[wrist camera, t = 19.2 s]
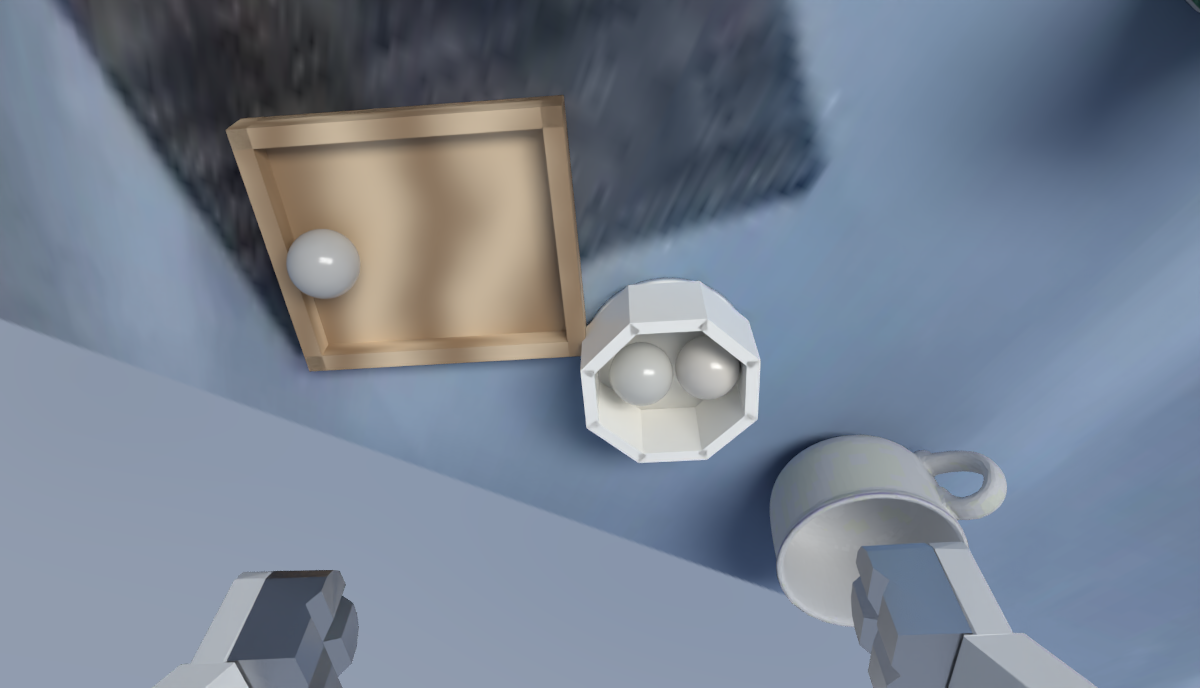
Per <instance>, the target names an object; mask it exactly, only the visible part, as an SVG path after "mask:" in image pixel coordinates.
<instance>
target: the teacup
mask: <svg viewBox="0 0 1200 688" xmlns="http://www.w3.org/2000/svg"><path fill="white" fill-rule="evenodd" d="M958 471H968V472H975V473H979V474H982V475H983V476H984V481H983V485H982V487H981V488H980V489H979V491H978V492H976V493H974V494H972V495H970V496H966V497H963V498H962V497H956V496H954V495H951V494H950V493H949V492H948V491H947V490H946V489H945V488H943V487H939V485H938V483H937V482H936V480H935V478H934V477H935V476H936V475H938V474H943V473H948V472H958ZM1006 491H1007V484H1006V480H1005V476H1004V474H1003V472H1002V471H1001V469H1000V468H999V467H998V466H997V465H996V464H995V463H994V462H993V461H992V460H991V459H989V458H988V457H986V456H984V455H982V454H980V453H976V452H971V451H946V452H938V453H930V452H929V451H924V450H919V451H916V452H914V453H913V452H911V451H909V450H908V449H906V448H905V447H903V446H901V445H899V444H897V443H895V442H893V441H890V440H887V439H884V438H881V437H875V436H869V435H845V436H839V437H834V438H830V439H827V440H824V441H821V442H818V443H816V444H814V445H812V446H810V447H808V448H806V449H805V450H803V451H801V452H800V453H799V454H798V455H796V456H795V457H794V458H793V459H792V460H791V461H790V462H789V463H788V464H787V465H786V466H785V467H784V468H783V470H782V471H781V473H780V474H779V476H778V478H777V479H776V482H775V484H774V487H773V490H772V493H771V499H770V522H771V531H772V537H773V544H774V549H775V554H776V571H777V578H778V580H779V583H780V586H781V588H782V590H783V592H784V593H785V595H786V596H787V598H788V599H789V600H790V602H791V603H792V604H794V605H795V606H796V607H798V608H799V609H800V610H802V611H803V612H805V613H806V614H808V615H809V616H812V617H815V618H817V619H819V620H821V621H823V622H827V623H831V624H835V625H840V626H849V627H854V622H853V618H852V608H851V592H852V583H853V582H854V581H855V580H856V579H857V578H858V577H860V574H859V571H858V568H857V565H856V558H857V553H858V550H859V549H860V547H861V546H874V545H892V544H910V543H926V544H927V543H940V542H963V543H964V544H965V545H966V546H968V548H969V545H968V541H967V539H966V536H965V534H964V531H963V529H962V528H961V526H960V525H959V523H958V521H957V520H971V519H979V518H982V517H984V516H987V515H989V514H991V513H993V512H994V511H995V510H996V509H997V508H998V507H999V506H1001V504H1002V502H1003V500H1004V499H1005V496H1006Z"/></svg>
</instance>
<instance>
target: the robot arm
mask: <svg viewBox="0 0 1200 688" xmlns="http://www.w3.org/2000/svg"><path fill="white" fill-rule="evenodd" d="M856 565H857V568H858V571H859V574H860V577H858V578H857V579H856V580H855V581H854V582H853V583H852V592H851V608H852V618H853V622H854V627H855V631H856V635H857V638H858V641H859V644H860V645H861V646H862V647H863V648H864V649H865V650H866V651H867V652H869V653H870V654H871V657H870V663H869V668H868V673H869V676H870V679H871V682H872V685H873V688H1098V687H1096V686H1095V685H1094V684H1092V683H1091V682H1089V681H1088V680H1087V679H1085V678H1084V677H1083V676H1081V675H1080V674H1079V673H1077V672H1076V671H1075V670H1073V669H1072V668H1071V667H1069V666H1068V665H1066V664H1065V663H1064V662H1062V661H1061V660H1060V659H1058V658H1057V657H1056V656H1054V655H1053V654H1052V653H1050V652H1049V651H1047V650H1046V649H1045V648H1043V647H1042V646H1041V645H1039V644H1038V643H1037V642H1035V641H1034V640H1033V639H1031V638H1030V637H1029V636H1027V635H1026V634H1024V633H1013V632H1012V630H1011V628H1010V626H1009V624H1008V622H1007V620H1006V618H1005V616H1004V614H1003V613H1002V611H1001V609H1000V607H999V605H998V603H997V601H996V599H995V597H994V595H993V594H992V592H991V590H990V588H989V586H988V584H987V582H986V580H985V578H984V576H983V575H982V573H981V571H980V569H979V567H978V565H977V563H976V561H975V559H974V557H973V556H972V554H971V552H970V550H969V548H968V546H966V545H965V544H964V543H963V542H940V543H927V544H926V543H910V544H892V545H874V546H861V547H860V549H859V550H858V553H857V558H856ZM345 585H346V584H345V582H344V580H343V577H342V575H341V573H340V571H336V570H319V571H318V570H315V571H269V572H243V573H242V574H241V575H239V576H238V577H237V578H236V579H235V580H234V582H233V583H232V585H231V587H230V589H229V591H228V593H227V595H226V597H225V599H224V601H223V602H222V604H221V606H220V608H219V610H218V612H217V614H216V616H215V618H214V620H213V622H212V623H211V625H210V627H209V629H208V631H207V633H206V635H205V637H204V639H203V641H202V642H201V645H200V646H199V648H198V650H197V652H196V654H195V656H194V658H193V660H192V662H191V663H190V664H181V665H180V666H178V667H177V668H176V669H175V670H173V671H172V672H171V673H170V674H168V675H167V676H166V677H165V678H163V679H162V680H161V681H160V682H159V683H157V684H156V685H155V686H154V687H153V688H342V686H341V683H340V681H339V679H338V676H339V675H340V674H341V673H342V672H343V671H344V670H345V669H346V668H347V667H348V666H349V665H350V664H351V663H352V661H353V657H354V654H355V650H356V647H357V638H358V628H359V626H358V619H357V612H356V610H355V607H354V604H353V603H352V602H351V601H349V600H348V599H346V598H345V597H343V596H342V594H343V591H344V588H345Z"/></svg>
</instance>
